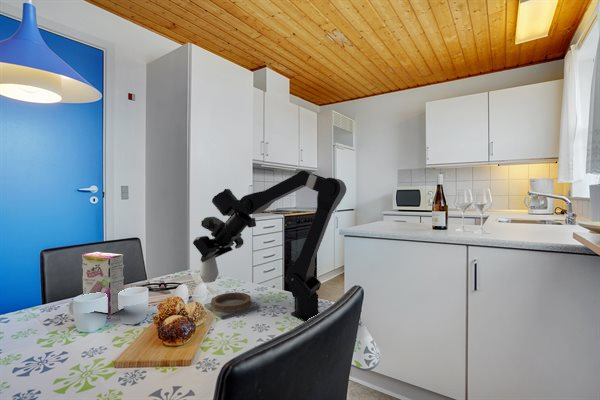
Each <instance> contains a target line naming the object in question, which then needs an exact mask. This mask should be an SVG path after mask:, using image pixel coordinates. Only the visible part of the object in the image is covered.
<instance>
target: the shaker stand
mask: <svg viewBox="0 0 600 400" xmlns="http://www.w3.org/2000/svg"><path fill="white" fill-rule="evenodd" d="M251 297H252V296H251V295H249V294H247V293H244V292H225V293H221V294H218V295H216V296H213V297H212V298H211V300H210V302H208V303H207V302H206V303H205V304H203V307H204V309H206V310H207V311H209V312H211V313H212V312H213V313H212V314H214V313H215V314H216V315H215V314H214V315H215V316H217V317H218V318H220V319H221V320H224V319H228V318H230V317H234V316H237V315H241V314H245V313H247V312H251V311H254V310H258V309H260V305H259V304H257V303H254V302H253V301H252V298H251Z"/></svg>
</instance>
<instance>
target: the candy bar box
mask: <svg viewBox="0 0 600 400" xmlns="http://www.w3.org/2000/svg"><path fill="white" fill-rule="evenodd" d="M124 256H125V254H121V253H111V252H101V251H93V252H89V253H84V254H82V255H81V274H82V276H81V278H82V296H83V295H84V294H89V293H96V292H101V293H106V294H107V297H108V314H107V315H109V316H111V315H114V314H116V313H118V312H120V311H119V309H118V293H119V292H120V291H122V290H124V291H125V262H124V261H125V257H124ZM115 312H116V313H115ZM113 313H114V314H113Z"/></svg>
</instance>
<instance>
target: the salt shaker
mask: <svg viewBox="0 0 600 400" xmlns="http://www.w3.org/2000/svg"><path fill="white" fill-rule="evenodd" d="M216 258H217V257H216ZM216 258H215V256H214V257H212V258H211V259H209V260H207V261H204V262H201V261H200V263H201V264H200V268H199V278H200V279H201V281H202V282H203V283H214V282H216V280H217V278H218V276H219V273H220V272H219V268H218V264H217V260H216Z"/></svg>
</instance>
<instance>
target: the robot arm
mask: <svg viewBox="0 0 600 400" xmlns="http://www.w3.org/2000/svg"><path fill="white" fill-rule="evenodd" d="M305 187H306V188H308V189H311V190H313V191H315V192H317V195H316V210H315V212H314V216H313V219H312V221H311V223H310V226H309V229H308V231H307V235H306V236H305V240H304V242H303V245H302V248H301V250H300V253H299V255H297V256H296V257H294V258H291V259H290V260H289V262H288V267H287V269H286V271H285V272H284V274H285V275H286V276H285V282H286V283H287V286H288V287H289V289H290V292H291V295H292V297H293V299H294V311H292V312H291V311H290V316H293V317H295V318H297V319H299V320H301V321H304V322H307V321H306V320H308V319H309V318H311V317H313V316H315V315H317V314H318V313H321V312H320V311H319V294H318V292H317V291H319V290H320V288H321V286H322V282H321V281H320V280H319V278H317V277H316V275H314V274H315V269H316V256H317V254H318V252H319V249H320V247H321V243H322V242H323V238H324V237H325V233H326V232H327V231H326V230H327V229H328V226H329V223H330V220H331V218H332V215H333V214H334V211H335V210H336V208H338V206H339V205H340V203H341V202H342V200H343V198H344V197H345V195H346V194H347V186H346V184H345V182H344V180H341V179H339V178H336V177H324V176H320V175H318V174H315V173H312V172H311V171H308V170H300V171H299V172H297V173H296V174H294V175H292V176H290V177H288V178H286V179H285V180H284V179H283V180H282V181H280V182H278V183H276V184H275V185H272V186H271V187H269V188H267V189H264V190H261V191H257V192H253V193H249V194H246V195H243V196H241V198H240V199H238V198H237V197H236V196H235V194H233V192H232V190H231V189H230V188H225V189H224V190H223V191H221V192H219V193H217V194H216V195H214V196H213V198H212V200H211V203H212V204H213V205H214V206H215V208H216V209H217V211H219V213H220V214H221V215H222V216H224V217H226V216H227V217H228V219H227V220H226V221H223V220H221V219H220V218H218V217H216V216H207V217H204V218H203V220H201V224H200V225H201V226H200V227H202V228H203V229H205V230H207V231H210V235H211V236H212V238H210V237H209V235H201V236H197V237H195V239H194V240H193V242H192V244H193V245H194V247H195V248H196V249H197V251H198V252H199V253H200V255H201V258H200V263H201V262H204V261H207V260H209V259H211V258H212V257H214V256H215V258H219V257H220V256H221V257H222V255H225V254H227V253H229V252H232V251H233V250H234V249H233V248H232V247H233V246H234V244H235V246H234V248H235V249H236V250H237V249H240V248H242V246H243V245H244V238H243V237H242V232H243V231H244V230H245V229H246V228H247V227H248V228H254V227H256V226H257V222H256V218H255V217H252V216H251V215H258V214H262V213H264V211H266V210H267V209H268V208H270V206H271V205H272V204H273V203H275V202H276V201H278V200H281V199H282V198H285V197H286V196H287V197H288V196H289V195H291V194H293V193H296V192H297V191H299V190H301V189H303V188H305Z"/></svg>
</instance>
